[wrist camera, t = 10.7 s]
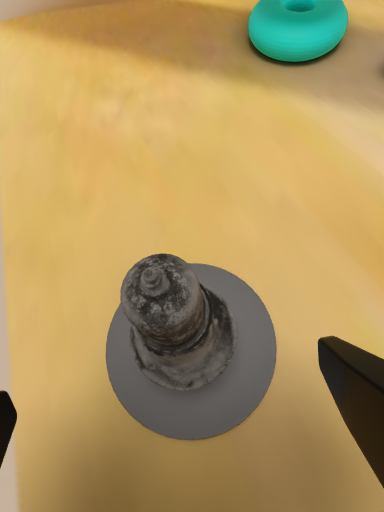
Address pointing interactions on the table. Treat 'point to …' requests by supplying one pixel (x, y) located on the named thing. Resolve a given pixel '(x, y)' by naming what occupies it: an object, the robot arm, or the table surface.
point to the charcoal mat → (209, 396)
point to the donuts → (297, 28)
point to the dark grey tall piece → (177, 324)
